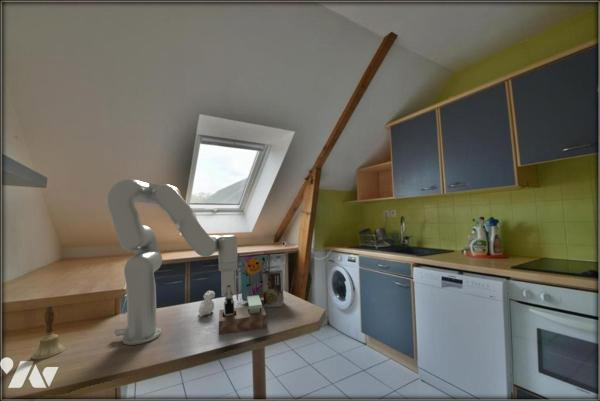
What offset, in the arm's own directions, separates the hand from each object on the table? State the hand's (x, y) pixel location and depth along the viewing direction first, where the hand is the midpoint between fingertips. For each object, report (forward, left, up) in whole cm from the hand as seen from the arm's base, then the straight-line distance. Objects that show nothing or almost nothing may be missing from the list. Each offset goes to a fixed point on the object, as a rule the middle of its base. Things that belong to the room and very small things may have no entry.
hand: (229, 310), depth 107 cm
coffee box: (+21, +18, -7) cm, 28 cm away
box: (+8, +25, -7) cm, 27 cm away
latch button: (+10, 0, -3) cm, 10 cm away
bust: (-10, +18, -7) cm, 22 cm away
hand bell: (-60, 0, -7) cm, 60 cm away
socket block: (+5, 0, -6) cm, 8 cm away
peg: (0, 0, -7) cm, 7 cm away
